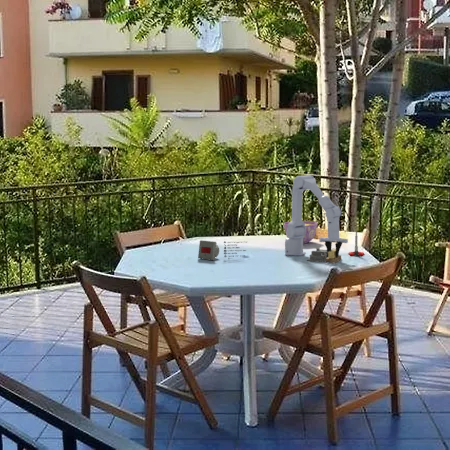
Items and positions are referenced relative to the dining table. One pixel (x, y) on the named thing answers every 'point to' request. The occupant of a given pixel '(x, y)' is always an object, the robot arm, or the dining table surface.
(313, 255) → the grey stepped metal block
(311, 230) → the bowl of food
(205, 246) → the voltmeter
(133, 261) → the dining table surface
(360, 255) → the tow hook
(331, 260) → the block
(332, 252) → the link bar
